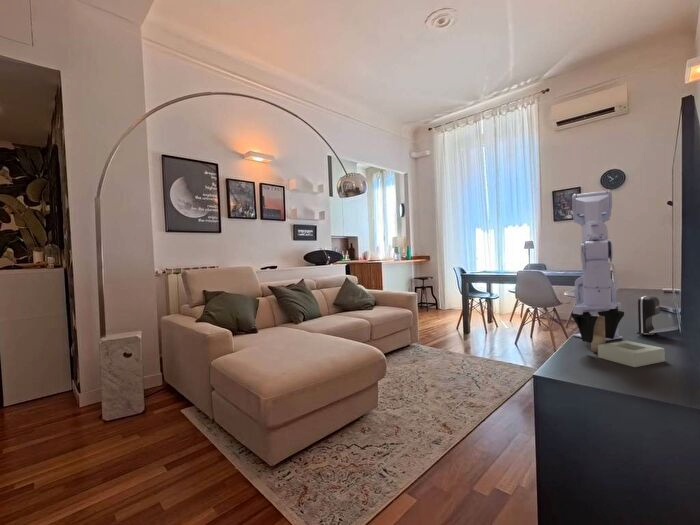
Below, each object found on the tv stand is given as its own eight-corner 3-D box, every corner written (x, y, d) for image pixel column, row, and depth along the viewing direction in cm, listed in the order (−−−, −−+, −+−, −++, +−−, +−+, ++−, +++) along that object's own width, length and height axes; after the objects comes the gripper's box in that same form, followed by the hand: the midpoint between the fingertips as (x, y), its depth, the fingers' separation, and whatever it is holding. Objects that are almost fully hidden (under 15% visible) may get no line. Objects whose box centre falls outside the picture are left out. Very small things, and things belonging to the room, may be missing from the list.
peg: (596, 348, 88) (595, 314, 88) (608, 351, 85) (607, 316, 85) (588, 350, 87) (587, 316, 87) (600, 353, 84) (599, 317, 84)
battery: (655, 337, 97) (654, 298, 97) (638, 335, 100) (637, 297, 100) (661, 333, 101) (660, 295, 101) (645, 331, 104) (644, 295, 104)
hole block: (626, 352, 85) (626, 340, 84) (664, 361, 77) (664, 348, 77) (598, 357, 82) (597, 345, 81) (634, 367, 74) (634, 353, 74)
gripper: (591, 290, 80) (593, 346, 80) (633, 286, 84) (634, 340, 85) (564, 288, 87) (566, 340, 87) (604, 284, 91) (606, 334, 91)
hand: (598, 339), depth 86 cm, fingers open, 7 cm apart
